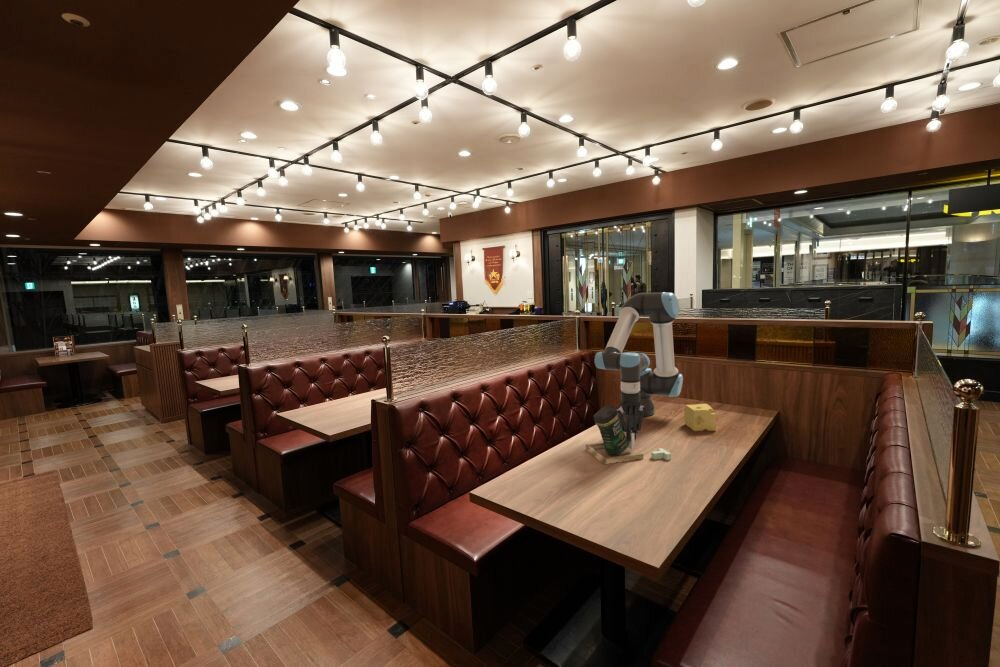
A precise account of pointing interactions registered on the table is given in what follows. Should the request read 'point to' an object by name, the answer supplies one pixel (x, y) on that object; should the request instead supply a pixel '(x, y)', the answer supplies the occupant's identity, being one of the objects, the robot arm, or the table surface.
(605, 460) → the oak frame
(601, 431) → the coffee jar
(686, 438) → the table surface
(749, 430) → the table surface
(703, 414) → the cheese
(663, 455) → the sage T block
